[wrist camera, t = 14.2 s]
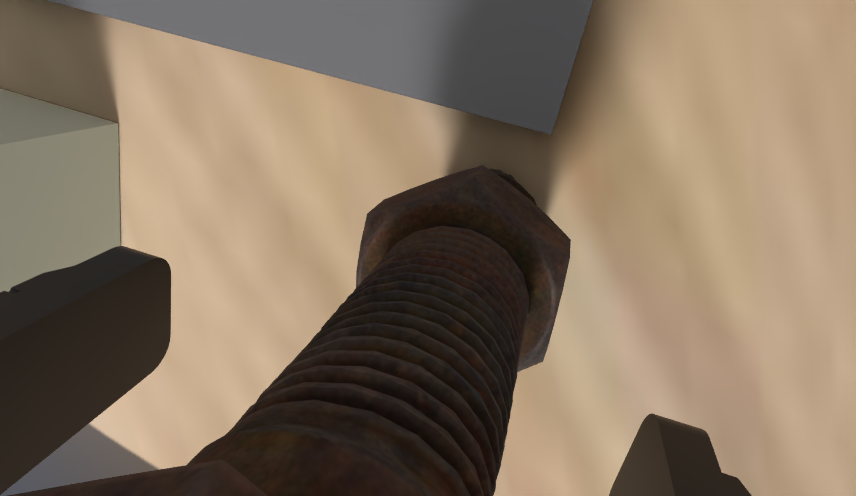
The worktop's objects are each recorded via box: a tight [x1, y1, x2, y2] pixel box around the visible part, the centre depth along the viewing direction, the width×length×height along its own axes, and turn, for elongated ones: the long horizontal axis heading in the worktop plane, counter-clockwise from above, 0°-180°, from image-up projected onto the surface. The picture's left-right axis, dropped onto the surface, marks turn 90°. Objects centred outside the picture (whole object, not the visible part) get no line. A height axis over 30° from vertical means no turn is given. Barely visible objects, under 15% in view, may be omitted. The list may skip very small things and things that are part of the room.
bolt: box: [9, 166, 571, 496], centre depth 9 cm, size 6×5×15 cm
